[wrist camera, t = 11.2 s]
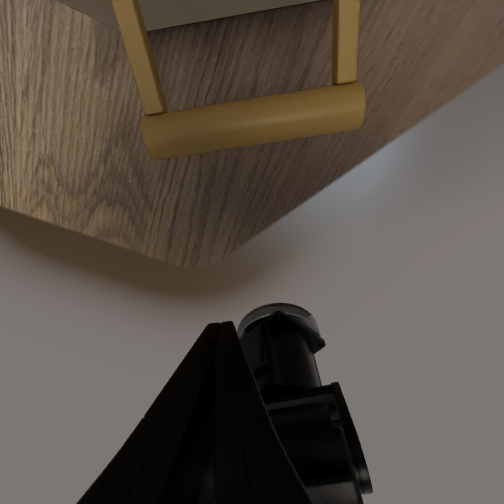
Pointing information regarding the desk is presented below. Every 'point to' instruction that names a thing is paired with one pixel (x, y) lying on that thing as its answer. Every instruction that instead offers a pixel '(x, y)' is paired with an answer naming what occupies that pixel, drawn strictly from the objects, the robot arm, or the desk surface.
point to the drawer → (242, 111)
